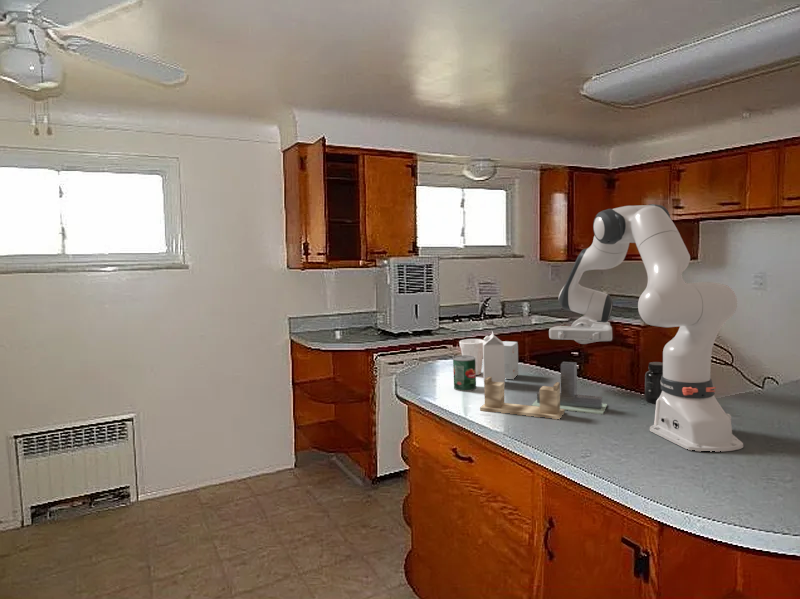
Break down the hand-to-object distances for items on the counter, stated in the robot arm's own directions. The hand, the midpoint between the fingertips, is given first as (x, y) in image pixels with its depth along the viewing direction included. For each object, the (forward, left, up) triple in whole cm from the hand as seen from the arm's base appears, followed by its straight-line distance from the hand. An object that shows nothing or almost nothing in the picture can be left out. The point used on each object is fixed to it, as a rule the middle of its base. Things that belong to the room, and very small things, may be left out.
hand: (576, 337), depth 177 cm
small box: (+28, +16, -20) cm, 38 cm away
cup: (+35, +28, -20) cm, 49 cm away
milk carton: (+19, +23, -20) cm, 36 cm away
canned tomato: (+16, +34, -20) cm, 43 cm away
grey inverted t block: (-10, +6, -19) cm, 22 cm away
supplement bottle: (-10, -22, -20) cm, 31 cm away
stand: (-13, +22, -20) cm, 32 cm away
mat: (-10, +6, -20) cm, 23 cm away
